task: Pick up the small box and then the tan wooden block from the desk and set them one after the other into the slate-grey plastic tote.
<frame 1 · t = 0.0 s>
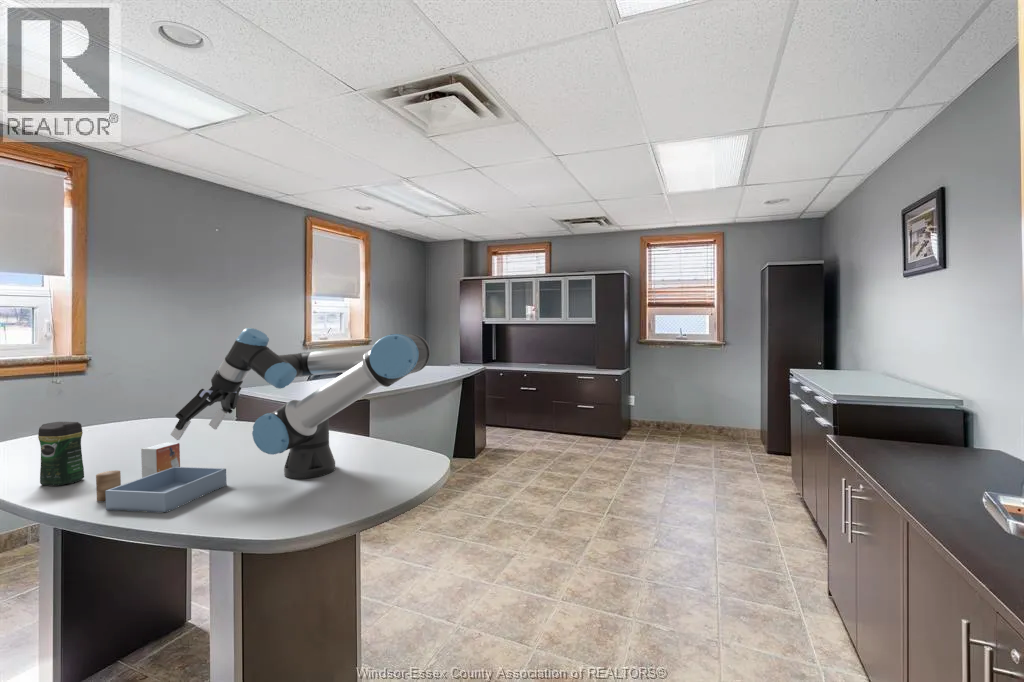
hand: (194, 431, 136), 15 cm above the table, tool tilted 35°, fingers open, 13 cm apart
tan wooden block: (109, 498, 124), on the table
tote: (170, 496, 125), on the table
small box: (161, 479, 140), on the table
coffee jar: (62, 483, 138), on the table
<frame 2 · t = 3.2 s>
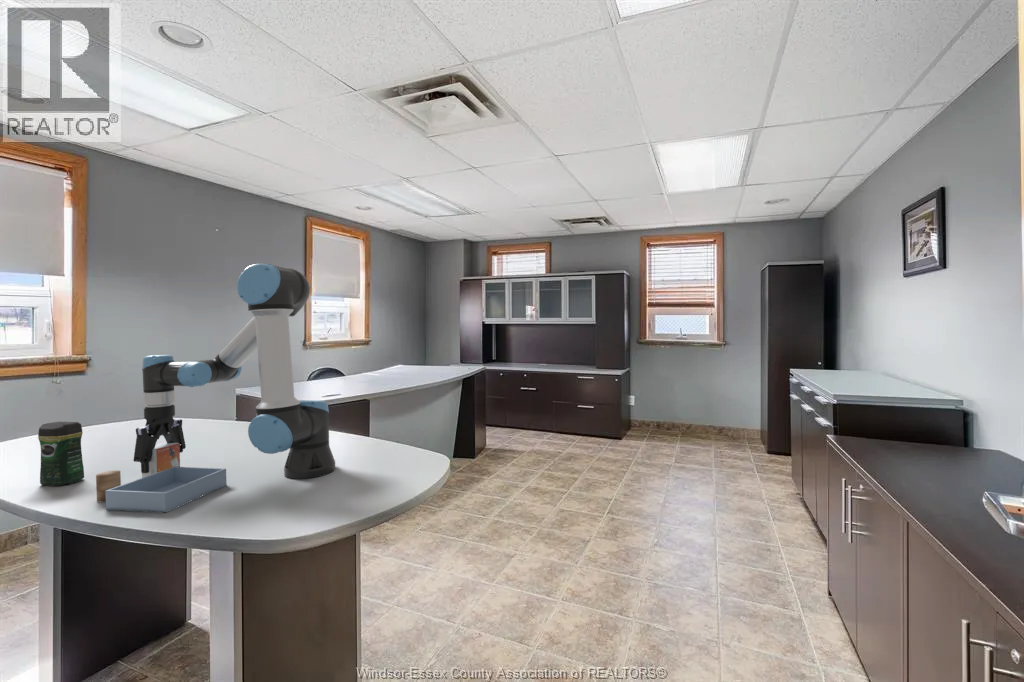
hand: (161, 478, 140), 0 cm above the table, tool pointing down, fingers closed on small box, 8 cm apart
small box: (161, 479, 140), on the table, touching gripper
everything else where it was.
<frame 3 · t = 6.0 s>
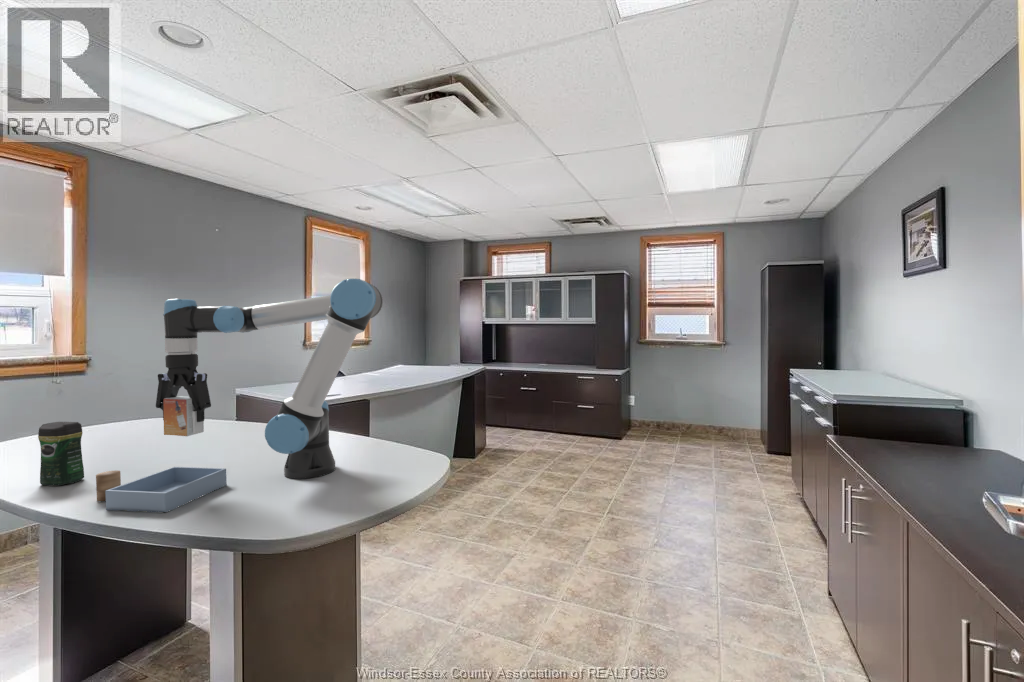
hand: (184, 432, 129), 17 cm above the table, tool pointing down, fingers closed on small box, 8 cm apart
small box: (184, 434, 129), point 16 cm above the table, touching gripper
everything else where it was.
when the fingers open (3 cm above the table, at t = 9.1 s): small box drops 2 cm, resting on tote.
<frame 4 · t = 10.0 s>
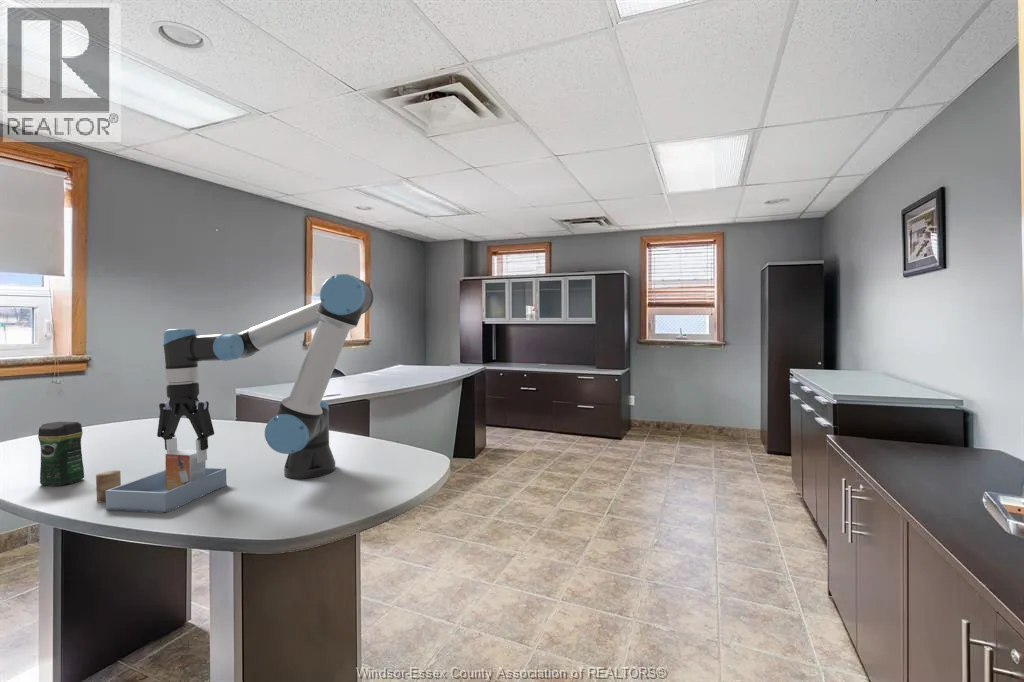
hand: (187, 461, 130), 8 cm above the table, tool pointing down, fingers open, 9 cm apart
small box: (186, 488, 130), resting on tote
everything else where it was.
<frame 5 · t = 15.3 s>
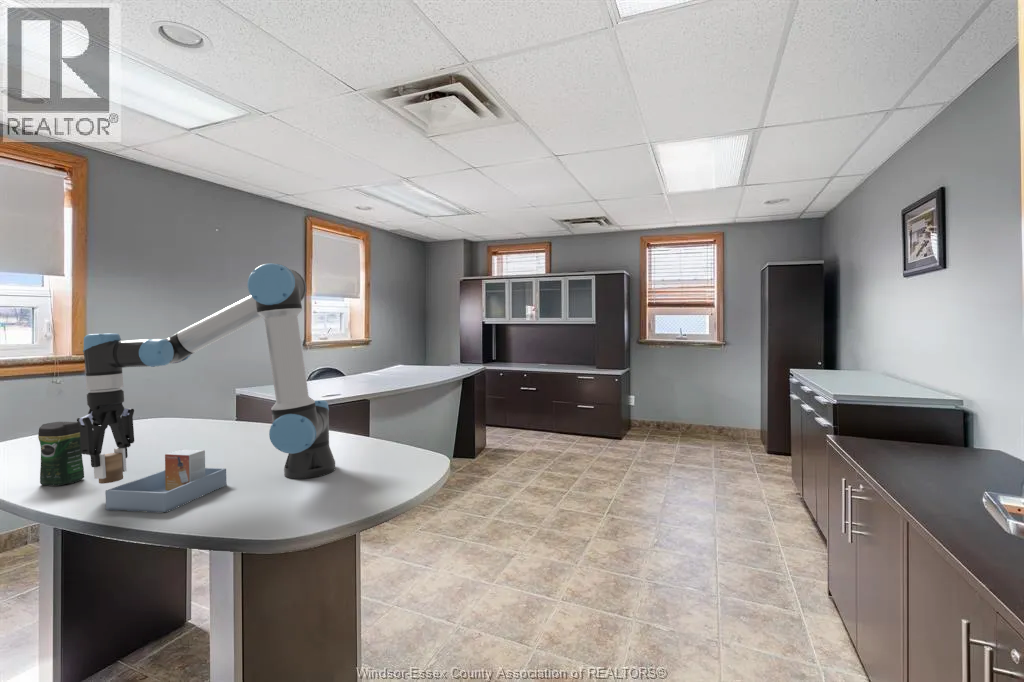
hand: (110, 474, 124), 7 cm above the table, tool pointing down, fingers closed on tan wooden block, 5 cm apart
tan wooden block: (111, 480, 124), point 5 cm above the table, touching gripper
everything else where it was.
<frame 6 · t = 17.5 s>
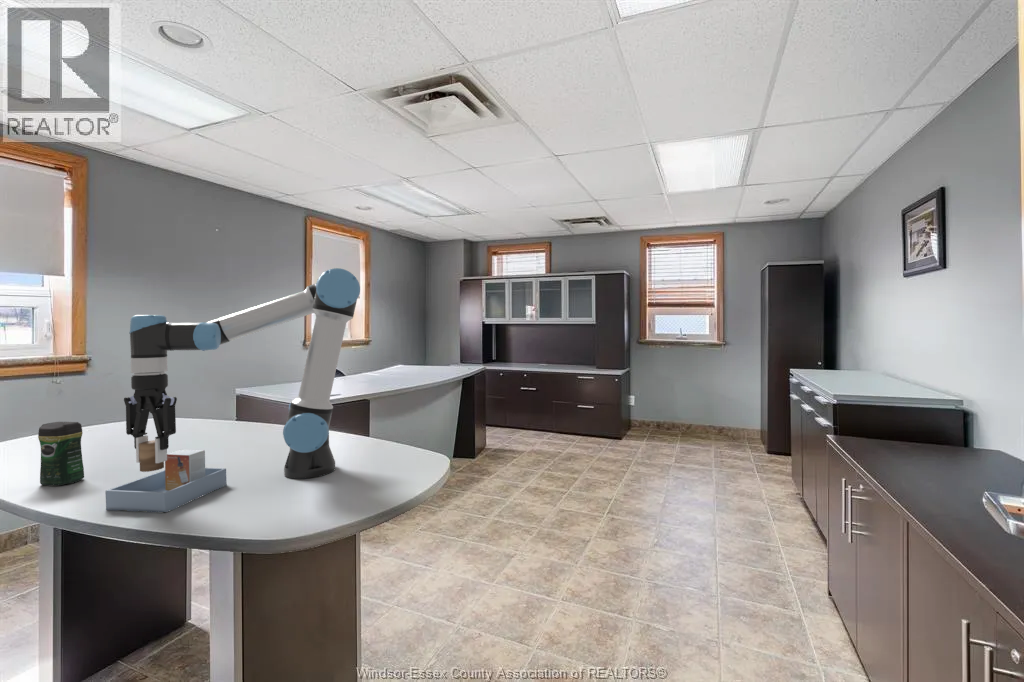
hand: (151, 461, 119), 11 cm above the table, tool pointing down, fingers closed on tan wooden block, 5 cm apart
tan wooden block: (152, 468, 120), point 9 cm above the table, touching gripper
everything else where it was.
when the fingers open (1 cm above the table, at t = 19.6 s): tan wooden block stays where it is, resting on tote.
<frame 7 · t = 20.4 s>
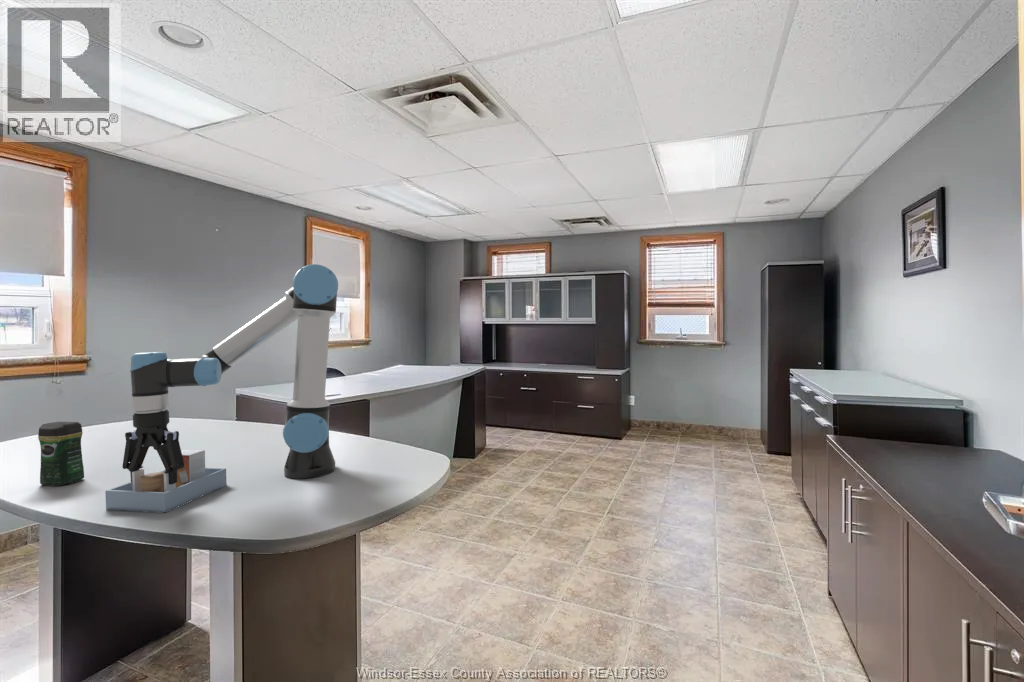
hand: (154, 495, 120), 2 cm above the table, tool pointing down, fingers open, 9 cm apart
tan wooden block: (153, 501, 120), point 1 cm above the table, touching tote
everything else where it was.
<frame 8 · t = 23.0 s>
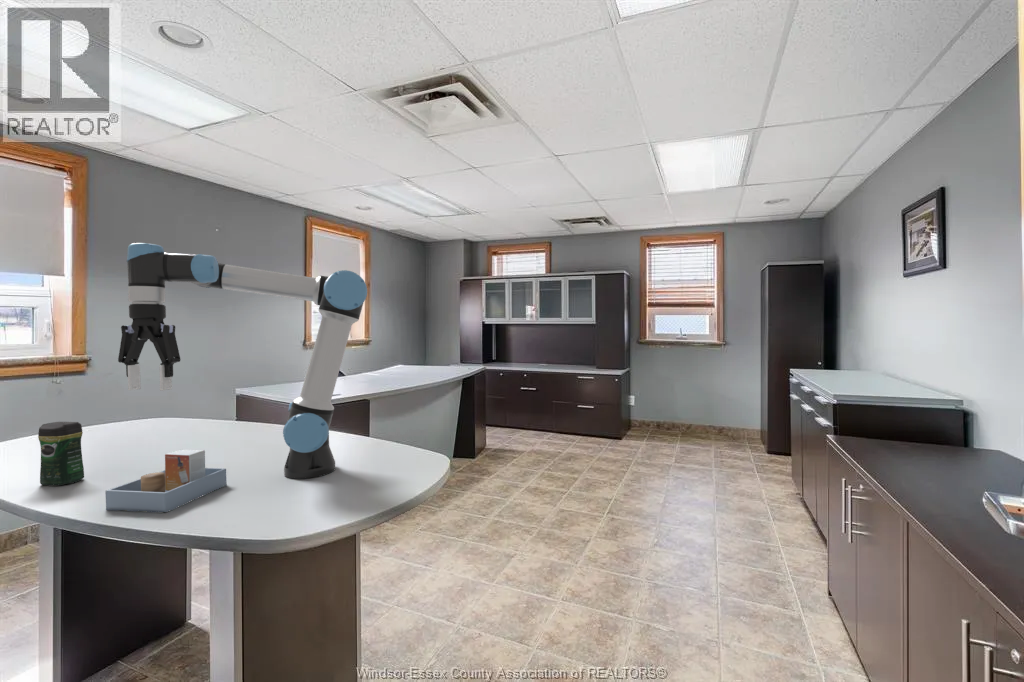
hand: (150, 389, 119), 30 cm above the table, tool pointing down, fingers open, 9 cm apart
nothing on the table moved.
at the end: small box inside the target area on the tote (4.9 cm from its centre), point 0.4 cm above the tote's base; tan wooden block inside the target area on the tote (5.0 cm from its centre), point 0.6 cm above the tote's base; small box tilted 0° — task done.
